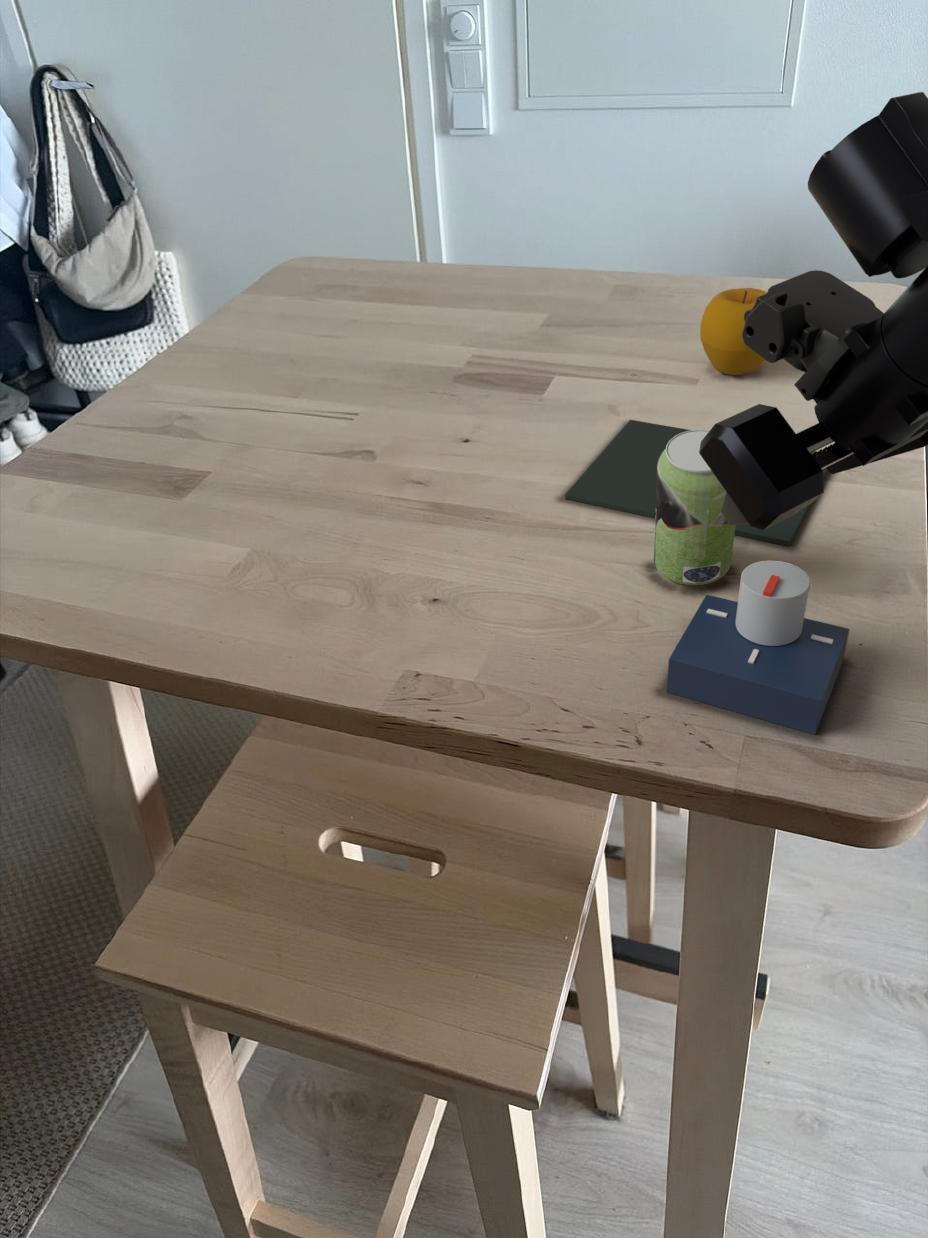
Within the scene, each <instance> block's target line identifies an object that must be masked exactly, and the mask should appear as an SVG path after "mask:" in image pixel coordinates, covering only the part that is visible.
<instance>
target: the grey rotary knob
mask: <svg viewBox="0 0 928 1238" xmlns="http://www.w3.org/2000/svg"><path fill="white" fill-rule="evenodd" d="M740 575H741V576H740V581H739V582H740V583H739V589H738V590H739V592H738V599H737V602H738V606H737V614H736V622H735V624H736V628H737V630H738V632H739V633H740V634H741V635H742V636H743V637H744V638H746V639H748V640H749V641H751V642H754V643H757V644H760V645H766V646H781V645H786V644H789V643H791V642H793V641H795V640H796V639H797V638H798V637H799V636H800V634H801V632H802V627H803V621H804V618H805V614H806V609H807V604H808V597H809V592H810V587H811V580H810V577H809V575H808V574H807V572H805V570H804V569H802V568H800V567H799V566H797V565H795V564H792V563H791V562H786V561H781V560H761V561H756V562H753V563H751V564H749V565H748V566H746V567H745V568H744V569H743V571H742V572H741V574H740Z"/></svg>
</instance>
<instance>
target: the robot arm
mask: <svg viewBox="0 0 928 1238" xmlns="http://www.w3.org/2000/svg"><path fill="white" fill-rule="evenodd" d="M807 190H808V192H809V193H810V194H811V196H812V198H813V199H814V201H815V202H816V203H817V205H818V207H819V208H820V210H822V212H823V213H824V215H825V216H826V218H827V220H828V221H829V223H830V224H831V226H832V227H833V229H834V230H835V231H836V233H837V234H838V235H839V237H840V239H841V240H842V241H843V243H844V245H845V246H846V247H847V249H848V250H849V252H850V253H851V255H852V257H853V258H854V259H855V261H856V262H857V263H858V265H859V267H860V268H861V269H862V271H863V272H864V273H865V275H867V277H869V278H871V277H873V276H874V277H875V276H881V275H885V274H888V273H891V274H892V276H893V277H894V278H895V279H900V280H901V279H905V278H908V277H911V276H914V275H916V274H918V273H919V274H918V275H917V276H916V277H915V279H914V280H913V281H912V282H911V283H910V284H909V285H908V286H907V288H905V290H904V291H903V292H902V293H901V294H900V295H899V297H897V299H895V300H894V302H892V304H891V305H890V306H889V307H888V309H887V310H885V312H884V311H882V310H881V309H880V308H878V307H877V306H876V305H875V302H874V301H873V300H872V299H871V298H869V297H868V296H866V295H865V294H863V293H861V292H860V291H859V290H857V289H856V288H854V287H852V286H851V285H849V284H848V283H846V282H845V281H843V280H842V279H840V278H838V277H837V276H835V275H834V274H832V273H829V272H828V271H824V270H817V269H815V270H809V271H806V272H804V273H801V274H798V275H796V276H793V277H791V278H788V279H786V280H783V281H781V282H778V283H776V284H774V285H771V286H770V287H769V288H767V291H766V292H767V294H764V295H762V296H759V297H757V299H756V303H755V305H754V307H753V308H752V309H750V310H748V311H746V312H745V314H744V321H745V325H744V329H743V333H742V337H743V340H744V343H745V345H746V346H747V347H749V348H750V349H751V350H753V351H754V352H756V353H757V354H758V355H760V356H761V357H762V358H764V359H765V362H768V363H770V364H774V363H777V362H779V361H785V362H786V363H788V364H789V365H790V366H791V367H793V368H794V369H796V370H797V371H801V372H803V374H802V375H801V376H800V377H799V379H798V380H797V381H796V382H795V383H794V387H795V388H796V389H797V390H798V391H799V393H800V394H801V395H802V397H803V398H804V400H805V401H807V402H809V401H812V400H813V401H814V402H815V406H813V407H814V413H815V417H816V419H817V423H815V424H814V425H812V426H809V427H808V428H804V429H803V430H801V431H799V432H797V433H796V432H795V430H794V429H793V428H792V426H791V425H790V424H789V422H788V420H786V418H785V417H784V415H783V414H782V412H781V411H780V410H779V408H777V407H776V406H771V405H766V404H761V403H757V404H756V405H754V406H751V407H749V408H747V409H744V410H743V411H740V412H738V413H736V414H734V415H732V416H729V417H727V418H725V419H722V420H721V421H718V422H717V423H715V424H714V425H712V427H711V428H710V429H709V430H710V431H709V432H708V433H707V435H706V436H705V437H704V438H703V440H702V441H701V444H700V450H699V454H700V455H701V456H702V458H703V459H704V461H705V462H706V464H707V465H708V466H709V468H710V469H711V471H712V472H713V474H714V475H715V476H716V478H717V479H718V481H719V482H720V484H721V485H722V486H723V488H724V489H725V491H726V495H725V499H724V503H723V507H722V515H723V517H724V518H725V519H726V521H727V522H728V524H729V525H731V526H734V525H743V524H749V525H750V526H752V527H755V528H758V529H761V530H765V529H767V528H769V527H771V526H773V525H775V524H777V523H779V522H781V521H783V520H785V519H787V518H789V517H791V516H792V515H794V514H796V513H798V512H800V511H802V510H804V509H805V507H806V506H808V505H809V504H811V505H812V503H813V502H815V501H816V500H817V499H818V498H820V496H822V495H823V494H824V493H825V489H824V488H825V487H824V479H823V470H822V469H824V468H827V470H828V471H827V472H828V473H830V474H831V475H835V474H838V473H842V472H845V471H850V470H852V469H856V468H859V467H864V466H867V465H869V464H873V463H875V462H880V461H882V460H887V459H888V458H892V457H896V456H899V455H902V454H906V453H910V452H912V451H916V450H919V449H921V448H922V449H923V448H925V447H928V96H927V95H926V94H925V92H923V91H918V92H914V93H908V94H904V95H899V96H895V97H891V98H890V99H888V101H887V102H886V104H885V105H884V107H883V108H882V109H881V111H880V112H879V113H878V115H876V116H874V117H873V118H872V117H871V118H870V119H869V120H868V121H865V122H864V123H862V124H861V125H859V126H858V127H856V128H855V129H854V130H853V131H851V132H850V133H848V134H847V135H846V136H845V137H844V138H843V139H841V140H840V141H839V142H838V143H837V144H836V145H835V146H834V147H833V148H832V149H830V150H827V151H825V152H824V153H823V154H822V155H821V156H820V157H819V158H818V160H817V161H816V163H815V165H814V166H813V168H812V170H811V171H810V174H809V176H808V181H807ZM832 443H833V444H832ZM814 451H816V452H815V453H814V454H813V455H812V454H810V453H812V452H814Z"/></svg>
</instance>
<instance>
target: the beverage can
mask: <svg viewBox="0 0 928 1238" xmlns="http://www.w3.org/2000/svg"><path fill="white" fill-rule="evenodd" d="M689 430H690V431H686V432H683V433H680V434H678V435H676V436H675V437H673V438H672V439H671V440H670V441H669V442H668V444H667V446H666V449H665V450H664V451H663V452H662V454H661V455H660V457H659V460H658V463H657V482H656V509H655V518H654V535H653V536H654V538H653V539H654V540H653V563H654V566H655V569H656V570H658V573H659V574H661V575H662V577H664V578H666V579H667V580H669V581H671V582H673V583H677V584H679V585H684V586H703V585H707V584H712V583H714V582H717V581H718V580H720V579H722V577H724V576H725V575H726V574H727V573H728V571H729V570H730V568H731V564H732V561H733V560H732V559H733V551H734V541H735V535H734V534H735V526H736V525H734V526H731V525H729V524H728V522H727V521H726V519H725V518H724V517H723V515H722V507H723V503H724V499H725V495H726V491H725V489H724V488H723V486H722V485H721V484H720V482H719V481H718V479H717V478H716V476H715V475H714V474H713V472H712V471H711V469H710V468H709V466H708V465H707V464H706V462H705V461H704V459H703V458H702V456H701V455H700V454H699V450H700V444H701V441H702V440H703V438H704V437H705V436H706V435H707V433H708V432H709V431H710V430H711V429H689Z"/></svg>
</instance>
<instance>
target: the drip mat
mask: <svg viewBox="0 0 928 1238" xmlns="http://www.w3.org/2000/svg"><path fill="white" fill-rule="evenodd" d="M690 430H691V429H686V428H681V427H675V426H670V425H665V424H658V423H652V422H648V421H640V420H634V419H629V421H628V422H627V423H626V424H625V425H624V426H623V427H622V428H621V430H619V432H618V433H617V434H616V435H615V436H614V438H613V439H612V440H611V441H610V443H609V444H608V445H607V446H606V447H605V448H604V449H603V450H602V452H601V453H600V454H598V456H597V457H596V459H595V460H593V462H592V463H591V464H590V465H589V466H588V468H586V470H585V471H584V472H583V473H582V475H581V476H579V478H578V479H577V480H576V481H575V483H574V484H573V485H572V486H571V487H570V488H569V489H568V490H567V492H566V493H565V495H564V499H565V500H569V501H573V502H579V503H583V504H587V505H593V506H597V507H602V508H606V509H612V510H616V511H621V512H625V513H630V514H633V515H635V514H636V515H640V516H644V517H649V518H654V519H655V509H656V482H657V463H658V460H659V457H660V455H661V454H662V452H663V451H664V450H665V449H666V446H667V444H668V442H669V441H670V440H671V439H672V438H673V437H675V436H676V435H678V434H680V433H683V432H686V431H690ZM816 451H817V450H816ZM816 451H814V452H812V453H810V454H812V455H813V454H814V453H815V452H816ZM822 470H823V480H824V479H825V477H826V475H827V473H828V472H829V471H828V470H827V468H824V469H822ZM811 505H812V503H811V504H809V505H808V506H806V507H805V509H804V510H802V511H800V512H798V513H796V514H794V515H792V516H791V517H789V518H787V519H785V520H783V521H781V522H779V523H777V524H775V525H773V526H771V527H769V528H767V529H765V530H761V529H758V528H755V527H752V526H750V525H749V524H743V525H736V526H735V534H734V536H739V537H743V538H748V539H752V540H758V541H762V542H767V543H772V544H775V545H776V544H777V545H780V546H786V547H790V546H791V544H792V542H793V540H794V538H795V536H796V535H797V532H798V530H799V529H800V526H801V525H802V523H803V520H804V518H805V516H806V515H807V513H808V510H809V509H810V506H811Z"/></svg>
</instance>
